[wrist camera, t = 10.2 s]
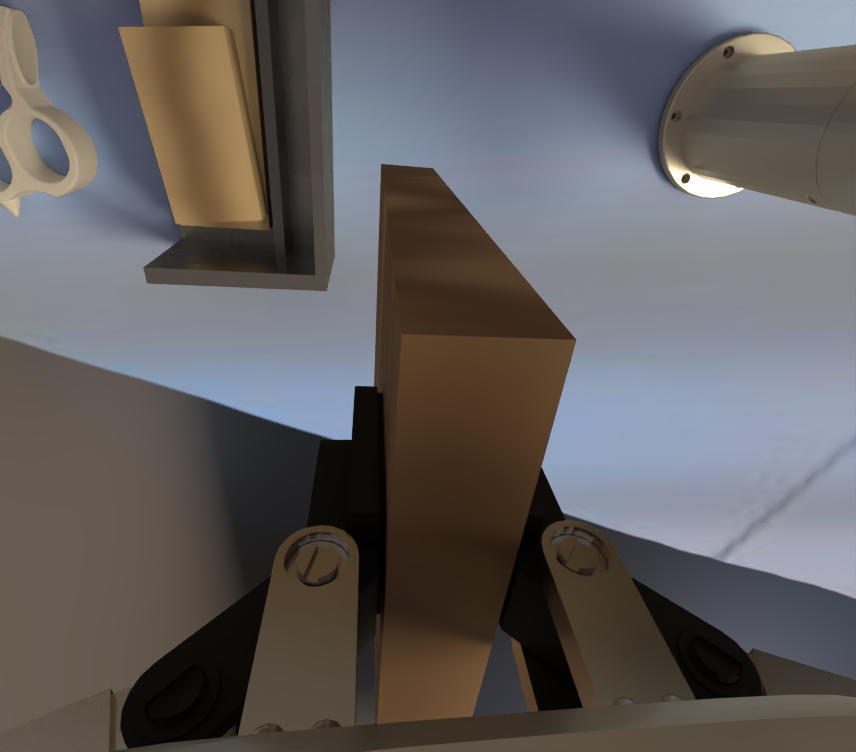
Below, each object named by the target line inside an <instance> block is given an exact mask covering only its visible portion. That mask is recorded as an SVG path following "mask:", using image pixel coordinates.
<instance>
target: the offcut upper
mask: <svg viewBox="0 0 856 752" xmlns="http://www.w3.org/2000/svg"><path fill="white" fill-rule="evenodd" d="M118 29H119V32H120V36H121V39H122V42H123V46H124V49H125V53H126V56H127V59H128V63H129V66H130V70H131V73H132V76H133V80H134V83H135V87H136V90H137V93H138V97H139V100H140V104H141V107H142V111H143V114H144V117H145V121H146V124H147V128H148V131H149V134H150V138H151V141H152V145H153V148H154V151H155V155H156V158H157V162H158V165H159V168H160V172H161V175H162V179H163V182H164V185H165V189H166V192H167V196H168V199H169V202H170V206H171V209H172V213H173V216H174V219H175V223H176V224H188V223H211V222H234V221H257V220H263V219H264V218H265V217H266V215H267V214H268V209H267V204H266V199H265V193H264V188H263V183H262V178H261V172H260V167H259V162H258V157H257V152H256V146H255V141H254V136H253V131H252V125H251V120H250V115H249V110H248V104H247V99H246V94H245V89H244V83H243V78H242V73H241V68H240V63H239V57H238V52H237V47H236V42H235V36H234V31H233V30H231V29H229V28H227V27H225V26H163V27H118Z"/></svg>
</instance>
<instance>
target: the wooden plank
mask: <svg viewBox="0 0 856 752" xmlns="http://www.w3.org/2000/svg"><path fill="white" fill-rule="evenodd" d="M575 343H576V339H575V338H574V337H573V335H572V334H571V333H570V332H569V331H568V329H567V328H566V327H565V326H564V325H563V323H562V322H561V321H560V320H559V319H558V317H557V316H556V315H555V314H554V313H553V312H552V310H551V309H550V308H549V307H548V306H547V304H546V303H545V302H544V301H543V300H542V298H541V297H540V296H539V295H538V294H537V292H536V291H535V290H534V289H533V288H532V286H531V285H530V284H529V283H528V282H527V280H526V279H525V278H524V277H523V276H522V274H521V273H520V272H519V271H518V270H517V268H516V267H515V266H514V265H513V264H512V263H511V261H510V260H509V259H508V258H507V257H506V255H505V254H504V253H503V252H502V251H501V249H500V248H499V247H498V246H497V245H496V243H495V242H494V241H493V240H492V239H491V237H490V236H489V235H488V234H487V233H486V231H485V230H484V229H483V228H482V227H481V225H480V224H479V223H478V222H477V221H476V219H475V218H474V217H473V216H472V215H471V213H470V212H469V211H468V210H467V209H466V208H465V206H464V205H463V204H462V203H461V202H460V200H459V199H458V198H457V197H456V196H455V194H454V193H453V192H452V191H451V190H450V188H449V187H448V186H447V185H446V184H445V182H444V181H443V180H442V179H441V178H440V176H439V175H438V174H437V173H436V172H435V170H434V169H433V168H423V167H410V166H398V165H386V164H381V188H380V219H379V250H378V282H377V313H376V345H375V376H374V387H378V393H383V412H384V442H385V473H386V535H385V552H384V569H383V587H382V604H381V614H377V615H376V636H375V713H376V714H375V724H382V723H395V722H407V721H419V720H432V719H445V718H458V717H471V716H472V715H473V712H474V708H475V704H476V701H477V697H478V694H479V690H480V687H481V683H482V679H483V676H484V672H485V669H486V665H487V661H488V657H489V654H490V651H491V647H492V643H493V640H494V636H495V632H496V629H497V625H498V622H499V618H500V614H501V611H502V607H503V603H504V600H505V596H506V593H507V589H508V585H509V582H510V578H511V574H512V571H513V567H514V564H515V560H516V556H517V553H518V549H519V546H520V542H521V538H522V535H523V531H524V527H525V524H526V520H527V517H528V513H529V509H530V506H531V502H532V498H533V495H534V491H535V488H536V484H537V480H538V477H539V473H540V470H541V466H542V462H543V459H544V455H545V451H546V448H547V444H548V441H549V437H550V433H551V430H552V426H553V422H554V419H555V415H556V412H557V408H558V404H559V401H560V397H561V394H562V390H563V386H564V383H565V379H566V375H567V372H568V368H569V365H570V361H571V357H572V354H573V350H574V346H575Z"/></svg>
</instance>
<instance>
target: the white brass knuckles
mask: <svg viewBox="0 0 856 752" xmlns="http://www.w3.org/2000/svg"><path fill="white" fill-rule="evenodd" d="M38 70H39V66H38V56H37V50H36V44H35V40H34V36H33V33H32V30H31V27H30V25H29V22H28V20H27V18H26V16H25V15H24V14H23V13H22V12H21V11H19V10H15V9H11V8H7V7H3V6H0V79H1V84H2V85H3V87H4V88H5V89H6V90H7V92H8V93H9V94H10V96H11V99H12V105H11V107H10V108H8V109H6V110H5V111H4V112H3V113H2V114H1V115H0V148H1V149H2V151H3V153H4V155H5V157H6V159H7V161H8V163H9V165H10V167H11V171H12V180H11V183H10V184H7V183H5V182H3V181H1V180H0V204H1V205H2V206H4V207H5V208H6V209H7V210H8V211H10V212H11V213H12V214H13V215H14V216H16V217H17V218H19V209H20V200H21V197H24V196H27V195H31V194H32V193H33V192H34V191H40V192H44V193H48V194H50V195H53V196H55V197H58V196H62V195H65V194H68V193H72V192H75V191H78V190H81V189H83V188H85V187H86V186H88V185H89V184H90V183H91V182H92V181H93V179H94V177H95V175H96V172H97V167H98V160H97V154H96V150H95V147H94V144H93V142H92V140H91V138H90V137H89V135H88V134H87V132H86V131H85V130H84V128H83V127H82V126H81V125H80V124H79V123H78V122H77V121H76V120H75V119H74V118H72V117H71V116H70V115H68V114H67V113H65V112H64V111H62V110H60V109H58V108H56V107H54V106H53V105H52V104H51V103H50V101H49V100H48V99H47V97H46V96H45V95H44V93H43V92H42V91H41V89H40V86H39V81H38ZM37 118H38V119H40V120H42V121H44V122H45V123H46V124H48V125H49V126H50V127H51V128H52V129H53V130H54V131H55V132H56V133H57V135H58V136H59V138H60V140H61V142H62V144H63V146H64V148H65V151H66V153H67V155H68V159H69V171H68V173H67V175H66V176H63V175H60V174H58V173H56V172H54V171H53V170H51V169H50V168H49V167H48V166H47V165H46V164H45V163H44V162H43V161H42V159H41V158H40V156H39V154H38V152H37V150H36V148H35V145H34V143H33V141H32V138H31V126H32V124H33V122H34V120H35V119H37Z"/></svg>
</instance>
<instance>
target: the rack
mask: <svg viewBox="0 0 856 752" xmlns="http://www.w3.org/2000/svg"><path fill="white" fill-rule="evenodd" d="M138 2H139V0H138ZM254 2H255V14H256V26H257V38H258V50H259V62H260V74H261V86H262V98H263V110H264V122H265V134H266V146H267V158H268V170H269V182H270V194H271V206H272V219H273V227H272V228H271V229H270V230H254V229H237V228H220V227H203V226H186V225H180V224H179V226H180V231H181V237H182V239H181V240H180V241H178V242H177V243H176V244H174V245H173V246H172V247H170V248H169V249H168V250H166V251H165V252H164V253H162V254H161V255H160V256H158V257H157V258H156V259H154V260H153V261H151V262H150V263H149V264H147V265H146V266H145V267H143V268H144V272H145V276H146V281H147V283H151V284H174V285H198V286H221V287H245V288H268V289H292V290H315V291H327V287H328V283H329V278H330V274H331V270H332V265H333V261H334V257H335V250H334V194H333V139H332V83H331V27H330V0H254ZM139 7H140V2H139ZM140 13H141V8H140ZM141 18H142V13H141ZM142 24H143V19H142ZM143 27H144V24H143Z"/></svg>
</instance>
